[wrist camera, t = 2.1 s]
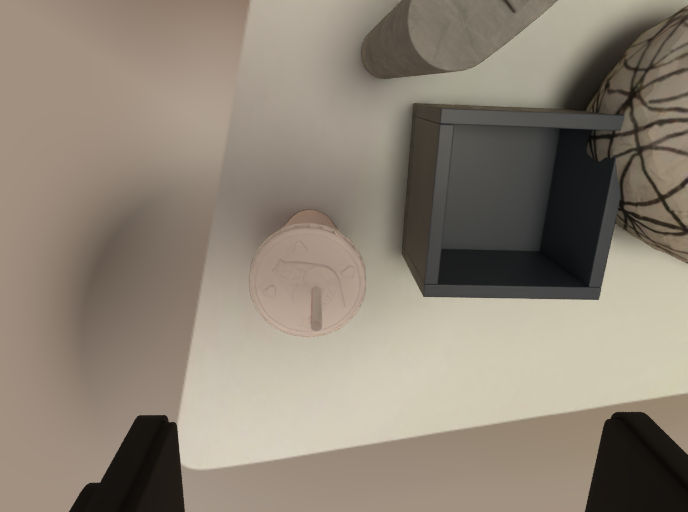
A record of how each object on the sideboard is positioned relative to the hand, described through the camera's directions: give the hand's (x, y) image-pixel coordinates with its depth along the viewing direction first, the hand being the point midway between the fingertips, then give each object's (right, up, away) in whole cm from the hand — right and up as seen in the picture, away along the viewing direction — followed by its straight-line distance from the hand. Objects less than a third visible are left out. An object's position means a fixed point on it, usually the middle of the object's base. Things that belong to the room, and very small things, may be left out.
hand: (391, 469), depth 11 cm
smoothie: (-3, +6, +25) cm, 26 cm away
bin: (+9, +10, +25) cm, 28 cm away
